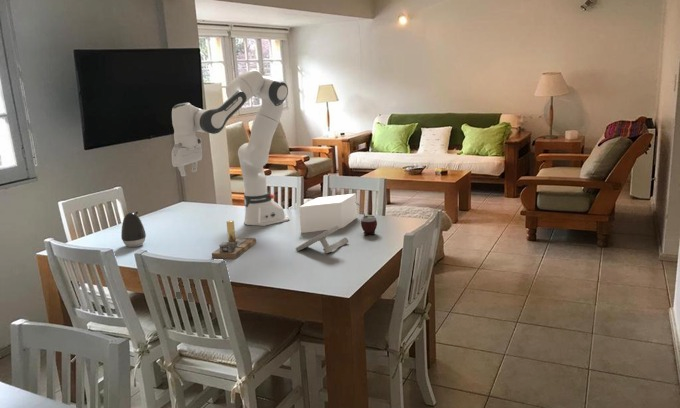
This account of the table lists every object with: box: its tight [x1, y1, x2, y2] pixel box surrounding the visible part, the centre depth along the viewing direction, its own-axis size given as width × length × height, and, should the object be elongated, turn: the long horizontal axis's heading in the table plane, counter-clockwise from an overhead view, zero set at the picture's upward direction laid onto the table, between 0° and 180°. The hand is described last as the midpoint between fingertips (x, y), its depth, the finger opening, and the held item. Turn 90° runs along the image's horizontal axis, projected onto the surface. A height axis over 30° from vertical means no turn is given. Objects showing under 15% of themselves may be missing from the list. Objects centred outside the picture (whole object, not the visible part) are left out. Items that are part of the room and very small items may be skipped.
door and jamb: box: [211, 237, 257, 260], centre depth 238 cm, size 22×10×5 cm, turn 166°
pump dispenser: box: [121, 211, 147, 248], centre depth 251 cm, size 10×10×15 cm
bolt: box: [223, 220, 238, 251], centre depth 233 cm, size 10×3×10 cm, turn 166°
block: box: [298, 193, 358, 234], centre depth 269 cm, size 18×35×12 cm, turn 131°
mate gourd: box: [355, 201, 378, 237], centre depth 249 cm, size 8×8×15 cm
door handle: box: [295, 225, 349, 254], centre depth 233 cm, size 18×8×20 cm
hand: (189, 174), depth 244 cm, fingers open, 8 cm apart
